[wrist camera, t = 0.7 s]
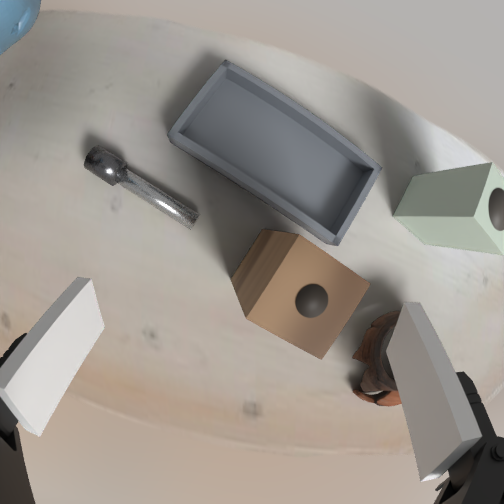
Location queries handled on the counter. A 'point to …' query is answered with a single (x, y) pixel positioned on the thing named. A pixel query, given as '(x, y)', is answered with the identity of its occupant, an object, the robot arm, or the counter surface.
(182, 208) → the rod
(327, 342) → the walnut block
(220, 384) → the counter surface
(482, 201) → the sage block
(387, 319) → the pottery mug
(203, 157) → the slate tray
